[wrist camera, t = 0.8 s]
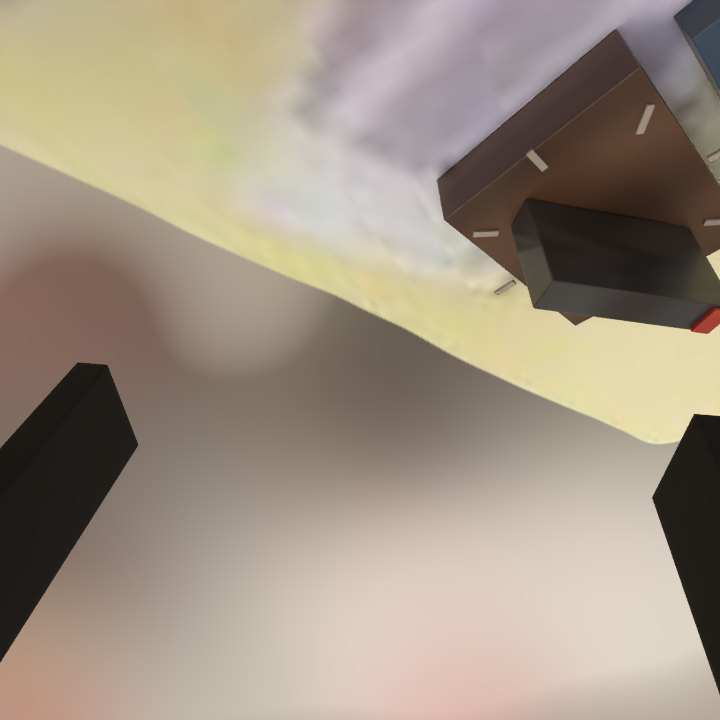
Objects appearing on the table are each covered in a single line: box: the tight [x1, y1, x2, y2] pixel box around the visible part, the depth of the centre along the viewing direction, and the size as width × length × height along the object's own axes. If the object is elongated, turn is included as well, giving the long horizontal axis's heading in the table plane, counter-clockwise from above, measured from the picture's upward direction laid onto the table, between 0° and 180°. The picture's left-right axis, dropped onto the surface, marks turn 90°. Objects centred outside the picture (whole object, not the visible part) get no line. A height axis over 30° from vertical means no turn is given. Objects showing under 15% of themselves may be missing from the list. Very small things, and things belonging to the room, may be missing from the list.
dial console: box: [437, 30, 720, 325], centre depth 31 cm, size 14×14×4 cm
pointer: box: [511, 199, 720, 334], centre depth 28 cm, size 10×2×6 cm, turn 78°
